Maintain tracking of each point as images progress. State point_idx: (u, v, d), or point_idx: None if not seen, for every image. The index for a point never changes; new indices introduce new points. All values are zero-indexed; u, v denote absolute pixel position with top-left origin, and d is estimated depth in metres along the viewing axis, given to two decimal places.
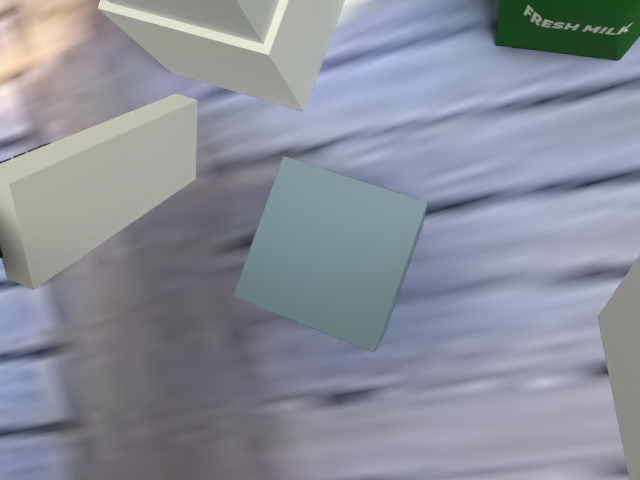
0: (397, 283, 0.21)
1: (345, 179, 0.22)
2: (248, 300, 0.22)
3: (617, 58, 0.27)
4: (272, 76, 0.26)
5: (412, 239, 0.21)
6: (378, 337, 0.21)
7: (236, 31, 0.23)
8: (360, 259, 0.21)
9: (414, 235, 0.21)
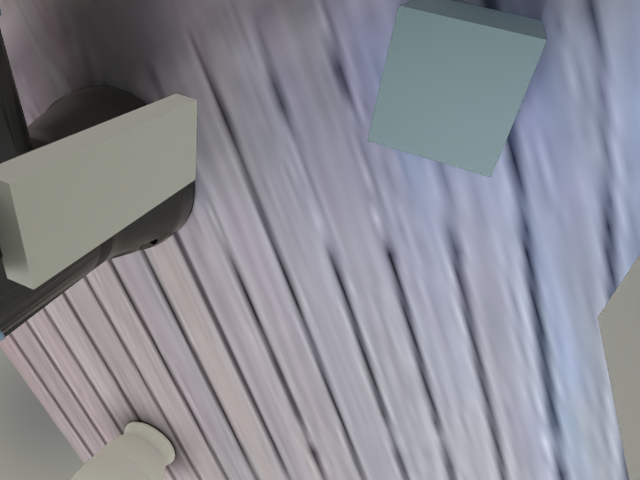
0: (422, 155, 0.26)
1: (516, 107, 0.23)
2: (396, 23, 0.23)
3: None
4: None
5: (458, 166, 0.26)
6: (378, 143, 0.27)
7: None
8: (440, 125, 0.25)
9: (462, 167, 0.26)
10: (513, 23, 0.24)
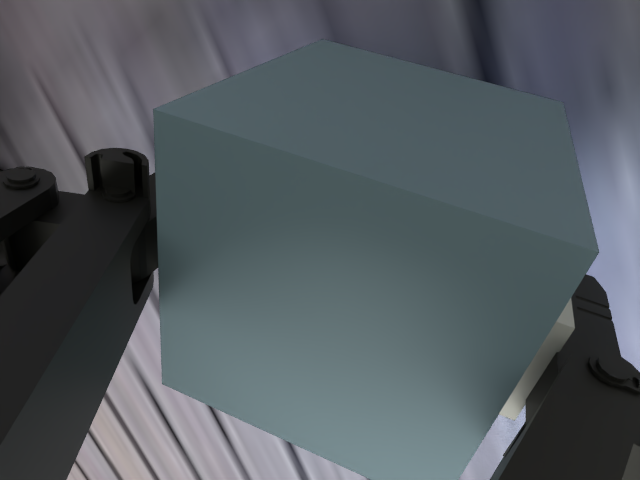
0: (280, 435, 0.11)
1: (498, 397, 0.08)
2: (160, 153, 0.08)
3: None
4: None
5: (362, 473, 0.11)
6: (185, 393, 0.12)
7: None
8: (309, 392, 0.10)
9: (370, 477, 0.11)
10: (495, 140, 0.09)
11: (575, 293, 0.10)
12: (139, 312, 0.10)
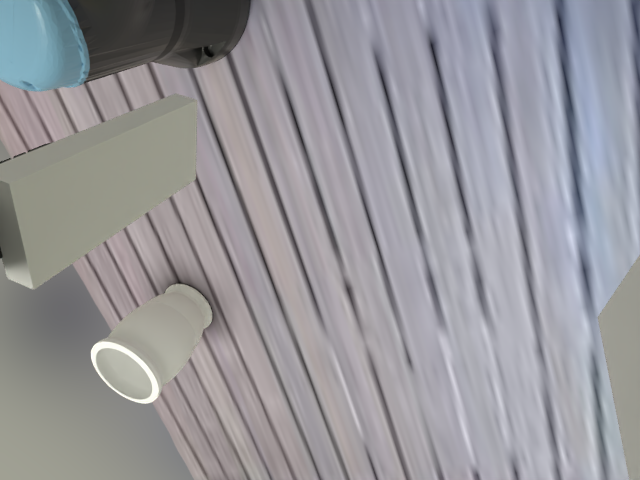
0: None
1: None
2: None
3: None
4: None
5: None
6: None
7: None
8: None
9: None
10: None
11: None
12: None
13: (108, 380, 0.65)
